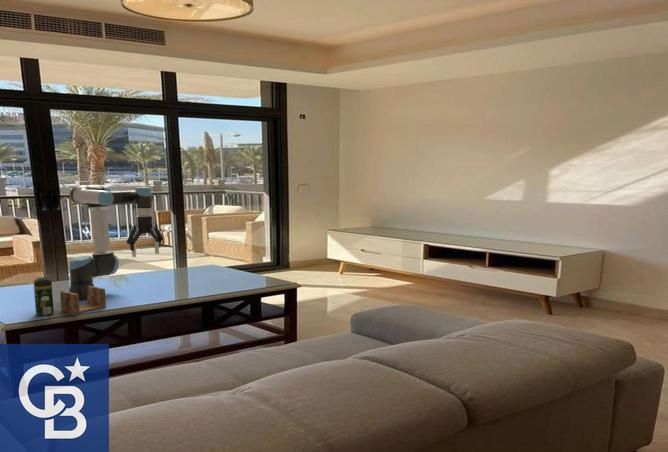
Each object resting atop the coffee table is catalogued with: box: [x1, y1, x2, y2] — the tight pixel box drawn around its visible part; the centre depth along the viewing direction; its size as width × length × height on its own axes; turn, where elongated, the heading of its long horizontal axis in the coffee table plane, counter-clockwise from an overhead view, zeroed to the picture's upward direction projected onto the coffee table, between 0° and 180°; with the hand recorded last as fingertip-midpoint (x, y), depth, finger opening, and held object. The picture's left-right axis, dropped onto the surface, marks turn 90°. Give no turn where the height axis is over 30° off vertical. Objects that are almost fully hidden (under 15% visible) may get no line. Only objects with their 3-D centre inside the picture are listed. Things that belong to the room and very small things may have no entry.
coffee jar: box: [33, 276, 55, 317], centre depth 256 cm, size 10×8×19 cm
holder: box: [59, 286, 107, 315], centre depth 266 cm, size 14×18×10 cm
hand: (145, 255), depth 274 cm, fingers open, 13 cm apart
